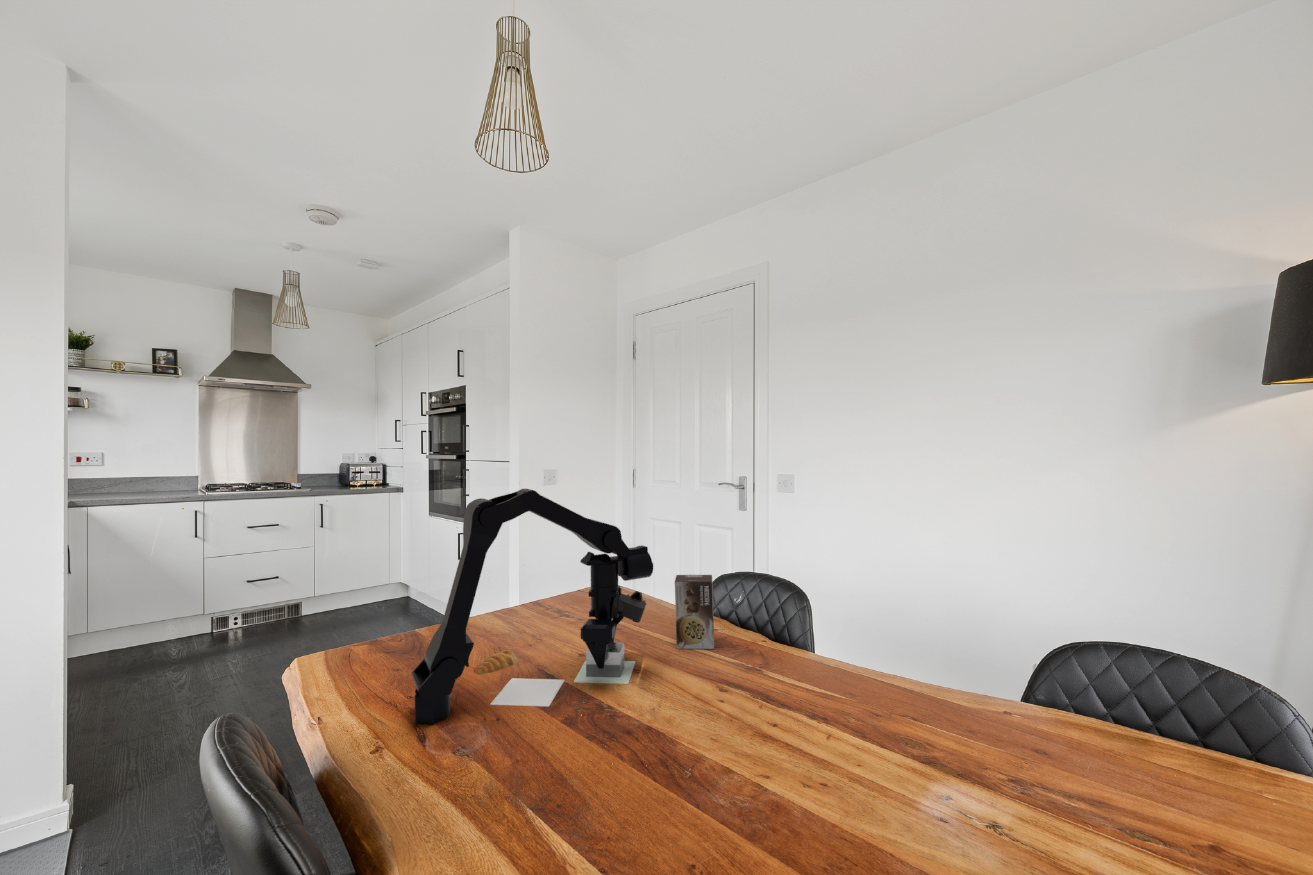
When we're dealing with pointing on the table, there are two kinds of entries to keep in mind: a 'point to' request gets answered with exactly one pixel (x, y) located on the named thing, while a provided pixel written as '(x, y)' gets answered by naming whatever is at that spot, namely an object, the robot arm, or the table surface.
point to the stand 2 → (614, 680)
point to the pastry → (496, 662)
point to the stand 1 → (528, 692)
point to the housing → (607, 662)
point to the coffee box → (694, 612)
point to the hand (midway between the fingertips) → (605, 659)
